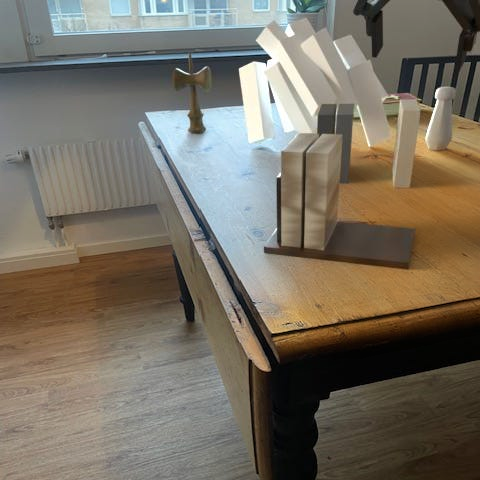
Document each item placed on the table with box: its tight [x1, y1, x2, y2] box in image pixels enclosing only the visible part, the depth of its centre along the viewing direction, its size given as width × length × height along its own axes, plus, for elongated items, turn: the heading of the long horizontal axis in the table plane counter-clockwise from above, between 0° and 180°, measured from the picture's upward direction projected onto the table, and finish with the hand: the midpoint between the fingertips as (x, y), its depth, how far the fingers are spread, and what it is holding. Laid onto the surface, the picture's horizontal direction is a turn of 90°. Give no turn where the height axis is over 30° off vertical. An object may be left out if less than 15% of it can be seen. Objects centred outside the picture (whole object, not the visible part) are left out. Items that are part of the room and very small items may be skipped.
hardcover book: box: [353, 92, 423, 120], centre depth 149 cm, size 12×21×4 cm, turn 95°
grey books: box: [316, 104, 354, 185], centre depth 101 cm, size 6×10×13 cm, turn 168°
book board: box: [263, 132, 416, 270], centre depth 73 cm, size 21×12×15 cm, turn 70°
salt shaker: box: [425, 86, 457, 152], centre depth 113 cm, size 6×6×13 cm
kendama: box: [172, 52, 212, 134], centre depth 136 cm, size 6×10×20 cm, turn 80°
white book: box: [391, 99, 421, 189], centre depth 96 cm, size 3×10×14 cm, turn 168°
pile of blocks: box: [238, 17, 393, 147], centre depth 123 cm, size 35×30×35 cm
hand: (417, 58), depth 81 cm, fingers open, 13 cm apart
